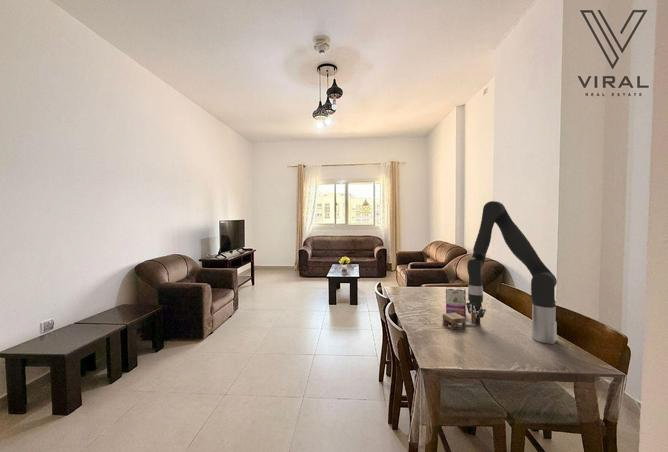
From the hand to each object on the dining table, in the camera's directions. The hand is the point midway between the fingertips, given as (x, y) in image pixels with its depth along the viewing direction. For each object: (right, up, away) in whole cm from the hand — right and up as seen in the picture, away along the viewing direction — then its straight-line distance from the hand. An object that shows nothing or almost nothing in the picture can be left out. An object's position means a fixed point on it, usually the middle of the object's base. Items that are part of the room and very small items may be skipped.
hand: (475, 323), depth 162 cm
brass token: (-15, -1, -3) cm, 15 cm away
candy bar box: (-4, 0, +16) cm, 17 cm away
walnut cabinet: (-13, -1, -3) cm, 14 cm away
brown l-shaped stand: (-5, -1, -1) cm, 6 cm away
